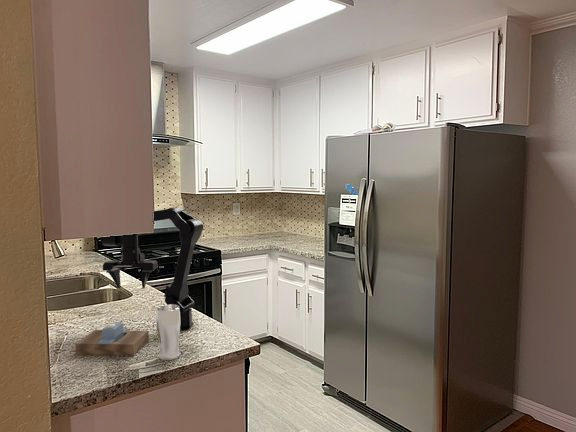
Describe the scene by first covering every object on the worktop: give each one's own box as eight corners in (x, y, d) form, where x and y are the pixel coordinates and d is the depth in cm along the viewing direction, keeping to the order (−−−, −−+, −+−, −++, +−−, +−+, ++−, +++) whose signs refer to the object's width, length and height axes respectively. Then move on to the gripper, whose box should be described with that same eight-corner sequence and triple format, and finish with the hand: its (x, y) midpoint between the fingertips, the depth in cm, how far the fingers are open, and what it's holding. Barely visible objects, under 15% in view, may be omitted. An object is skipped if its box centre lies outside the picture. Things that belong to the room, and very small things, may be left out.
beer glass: (157, 362, 126) (155, 311, 125) (157, 353, 133) (156, 305, 132) (181, 359, 128) (180, 309, 127) (181, 350, 135) (179, 303, 133)
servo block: (128, 340, 143) (127, 317, 143) (111, 355, 131) (110, 330, 131) (116, 340, 144) (115, 317, 143) (98, 355, 132) (97, 330, 131)
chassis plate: (148, 341, 143) (148, 330, 143) (133, 355, 131) (133, 344, 131) (95, 340, 144) (95, 330, 144) (75, 354, 132) (75, 343, 132)
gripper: (162, 243, 167) (163, 283, 168) (115, 243, 168) (116, 283, 169) (151, 247, 156) (153, 290, 157) (101, 247, 157) (102, 290, 158)
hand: (131, 288), depth 161 cm, fingers open, 9 cm apart
